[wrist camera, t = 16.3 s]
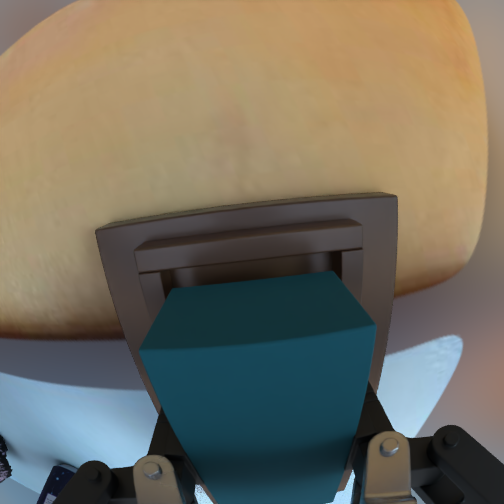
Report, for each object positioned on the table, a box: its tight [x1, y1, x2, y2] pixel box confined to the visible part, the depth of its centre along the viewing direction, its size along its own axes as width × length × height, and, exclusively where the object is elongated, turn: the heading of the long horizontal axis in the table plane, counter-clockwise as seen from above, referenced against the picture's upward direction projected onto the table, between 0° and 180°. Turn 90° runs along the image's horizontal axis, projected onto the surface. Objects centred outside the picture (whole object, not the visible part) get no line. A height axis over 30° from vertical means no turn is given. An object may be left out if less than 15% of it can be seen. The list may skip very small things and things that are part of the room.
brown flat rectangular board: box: [95, 192, 398, 504], centre depth 11 cm, size 23×11×4 cm, turn 6°
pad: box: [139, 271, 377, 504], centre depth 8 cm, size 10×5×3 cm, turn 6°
